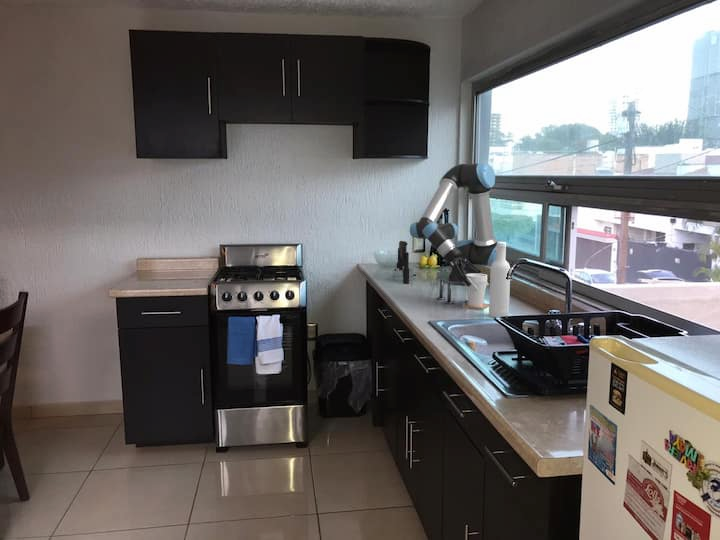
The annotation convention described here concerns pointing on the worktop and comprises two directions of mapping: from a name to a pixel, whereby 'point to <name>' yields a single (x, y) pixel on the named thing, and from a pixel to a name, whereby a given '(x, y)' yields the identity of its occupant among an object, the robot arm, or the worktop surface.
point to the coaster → (475, 306)
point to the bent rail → (447, 291)
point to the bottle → (499, 283)
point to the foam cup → (478, 296)
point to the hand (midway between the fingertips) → (481, 288)
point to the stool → (403, 266)
